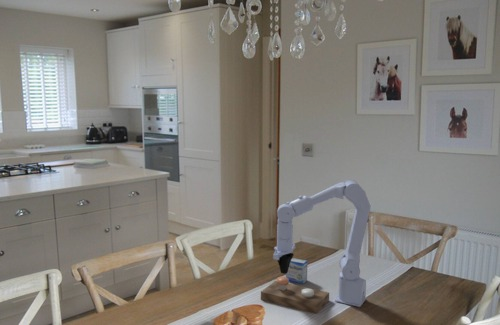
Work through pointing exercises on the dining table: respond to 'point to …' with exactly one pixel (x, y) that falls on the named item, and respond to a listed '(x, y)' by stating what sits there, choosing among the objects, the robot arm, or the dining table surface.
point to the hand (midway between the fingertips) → (284, 272)
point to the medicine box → (297, 271)
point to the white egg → (307, 293)
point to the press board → (295, 297)
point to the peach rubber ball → (282, 282)
